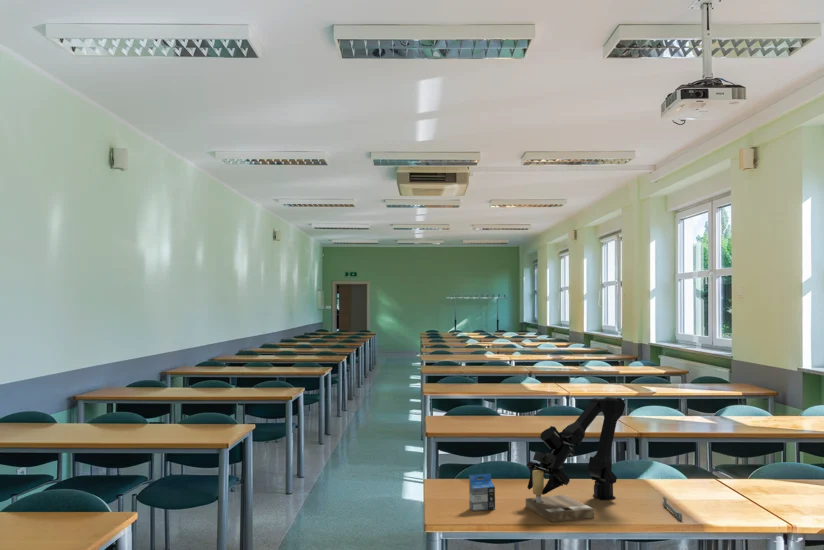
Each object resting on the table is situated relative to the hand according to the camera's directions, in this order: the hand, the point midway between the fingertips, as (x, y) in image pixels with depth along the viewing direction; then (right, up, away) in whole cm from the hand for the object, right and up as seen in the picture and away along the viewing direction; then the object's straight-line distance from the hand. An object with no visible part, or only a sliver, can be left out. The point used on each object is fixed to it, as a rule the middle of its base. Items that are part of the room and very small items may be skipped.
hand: (535, 491), depth 248 cm
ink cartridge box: (-19, -8, +2) cm, 21 cm away
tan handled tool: (+1, -7, 0) cm, 7 cm away
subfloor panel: (+8, -7, -2) cm, 11 cm away
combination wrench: (+48, -7, -4) cm, 49 cm away
